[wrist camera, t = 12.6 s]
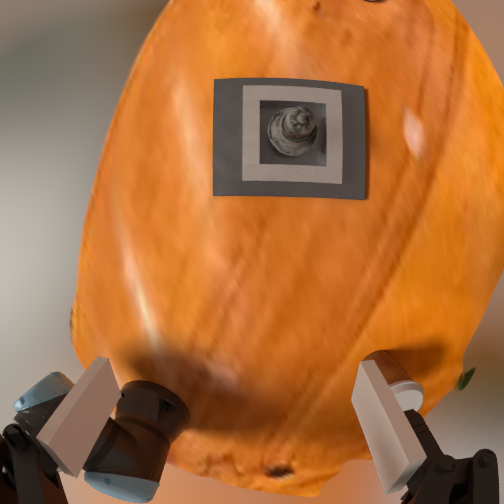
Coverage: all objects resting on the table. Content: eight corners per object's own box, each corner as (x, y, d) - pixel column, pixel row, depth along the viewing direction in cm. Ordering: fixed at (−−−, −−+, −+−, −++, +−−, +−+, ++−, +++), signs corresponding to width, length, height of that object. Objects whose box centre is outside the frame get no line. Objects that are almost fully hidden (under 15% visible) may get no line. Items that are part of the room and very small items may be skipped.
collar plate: (214, 195, 36) (209, 197, 33) (215, 81, 32) (210, 73, 29) (361, 199, 36) (371, 202, 32) (361, 88, 31) (369, 81, 28)
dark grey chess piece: (257, 137, 33) (254, 119, 22) (287, 105, 32) (297, 73, 20) (293, 167, 34) (308, 163, 22) (322, 134, 33) (349, 116, 21)
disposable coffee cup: (340, 376, 44) (355, 426, 32) (372, 335, 41) (398, 381, 30) (377, 388, 45) (397, 432, 33) (408, 351, 42) (436, 392, 31)
